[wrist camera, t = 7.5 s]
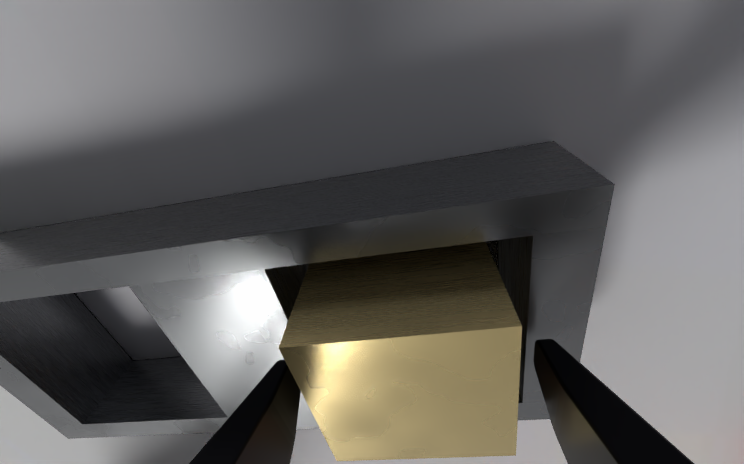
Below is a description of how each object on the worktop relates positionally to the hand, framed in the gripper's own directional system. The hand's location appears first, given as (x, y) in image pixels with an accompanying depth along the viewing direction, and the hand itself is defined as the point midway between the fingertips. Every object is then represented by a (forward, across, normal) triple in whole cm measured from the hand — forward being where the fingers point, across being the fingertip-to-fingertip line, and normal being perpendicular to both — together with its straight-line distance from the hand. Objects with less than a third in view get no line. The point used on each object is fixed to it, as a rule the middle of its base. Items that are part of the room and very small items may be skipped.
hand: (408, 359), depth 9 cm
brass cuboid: (+4, 0, 0) cm, 4 cm away
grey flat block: (+4, +5, 0) cm, 6 cm away
